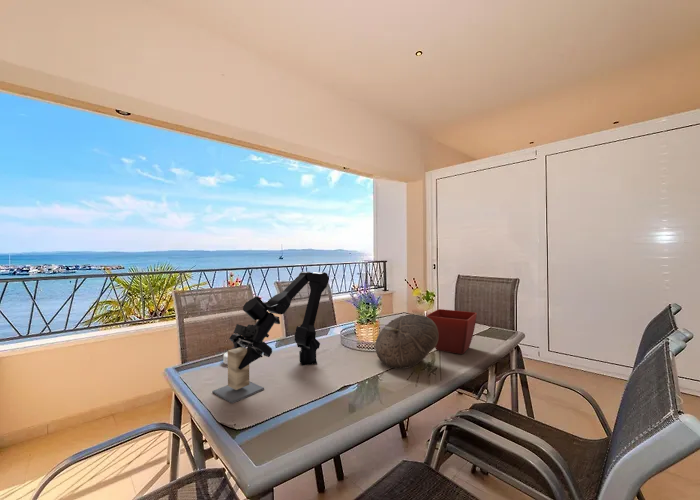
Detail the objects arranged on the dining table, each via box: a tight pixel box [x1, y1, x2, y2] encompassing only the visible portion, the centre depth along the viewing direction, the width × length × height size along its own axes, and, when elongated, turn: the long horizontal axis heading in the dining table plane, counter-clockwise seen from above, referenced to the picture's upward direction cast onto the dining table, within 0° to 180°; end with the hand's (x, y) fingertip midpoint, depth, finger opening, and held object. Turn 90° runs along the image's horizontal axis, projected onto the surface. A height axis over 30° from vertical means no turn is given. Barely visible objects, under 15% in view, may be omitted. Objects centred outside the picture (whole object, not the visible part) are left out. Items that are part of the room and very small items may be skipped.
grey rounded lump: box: [375, 314, 439, 369], centre depth 128 cm, size 28×23×25 cm
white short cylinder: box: [222, 351, 228, 366], centre depth 131 cm, size 10×10×4 cm
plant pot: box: [426, 308, 478, 355], centre depth 145 cm, size 19×19×17 cm
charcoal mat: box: [212, 380, 265, 404], centre depth 102 cm, size 12×12×1 cm
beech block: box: [227, 347, 250, 390], centre depth 102 cm, size 5×5×12 cm
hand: (234, 367), depth 101 cm, fingers closed on beech block, 5 cm apart
